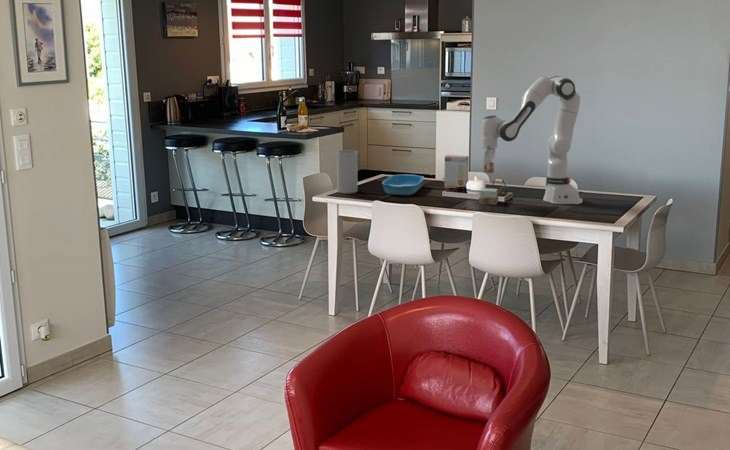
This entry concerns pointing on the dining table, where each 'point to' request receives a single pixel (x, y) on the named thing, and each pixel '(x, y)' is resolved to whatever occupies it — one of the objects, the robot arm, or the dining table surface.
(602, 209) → the dining table surface
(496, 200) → the walnut block
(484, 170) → the terracotta cube
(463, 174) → the cracker box
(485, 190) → the sage block
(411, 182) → the casserole dish
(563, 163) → the robot arm
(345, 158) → the cylinder vase
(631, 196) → the dining table surface
